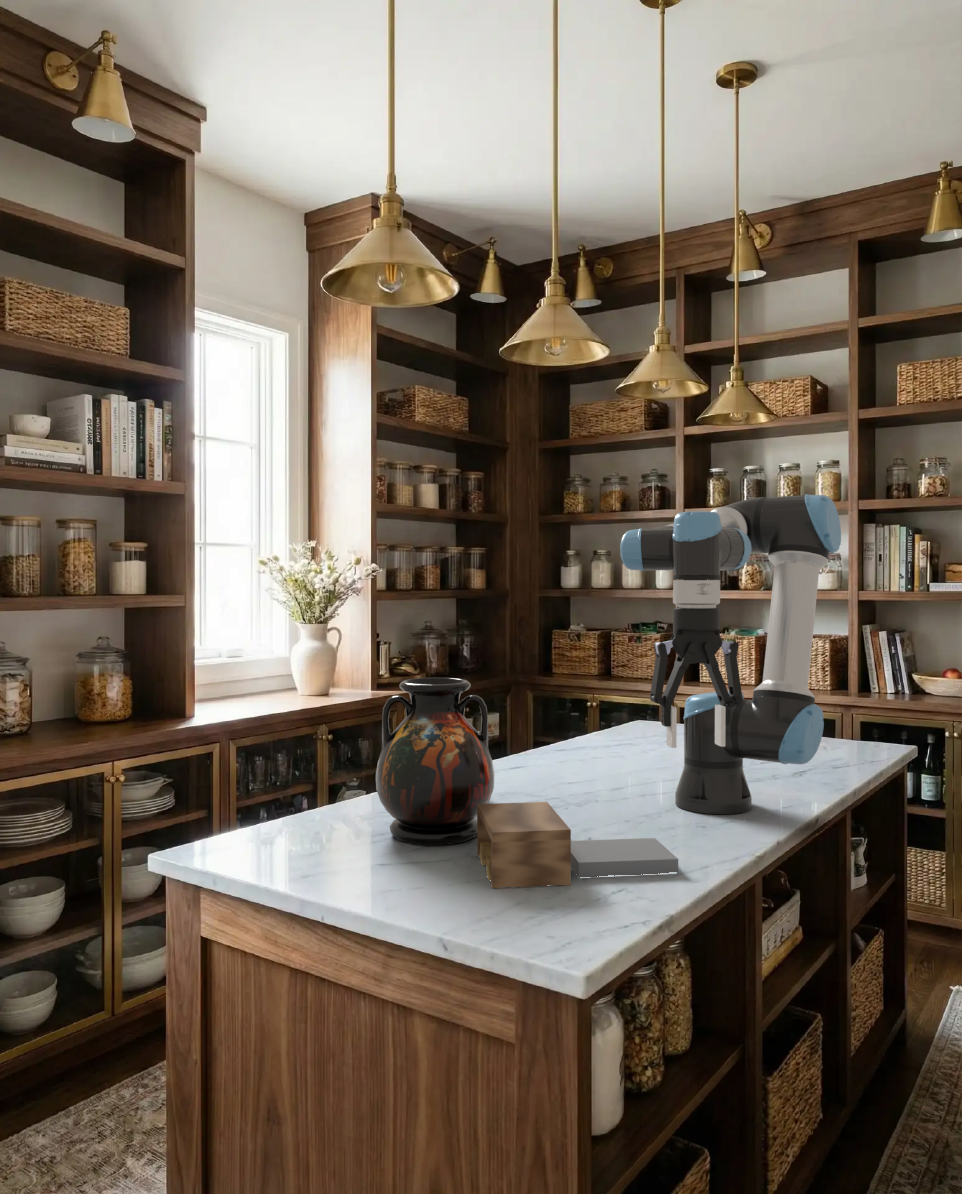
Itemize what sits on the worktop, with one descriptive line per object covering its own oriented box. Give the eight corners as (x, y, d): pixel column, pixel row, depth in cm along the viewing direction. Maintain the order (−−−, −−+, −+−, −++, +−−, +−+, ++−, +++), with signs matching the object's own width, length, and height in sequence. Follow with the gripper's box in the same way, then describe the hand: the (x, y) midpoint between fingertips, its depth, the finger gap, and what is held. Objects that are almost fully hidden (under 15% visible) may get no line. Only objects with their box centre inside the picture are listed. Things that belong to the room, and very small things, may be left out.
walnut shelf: (547, 851, 163) (547, 801, 163) (570, 885, 146) (570, 829, 145) (477, 854, 162) (477, 804, 162) (492, 888, 144) (492, 832, 144)
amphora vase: (372, 853, 163) (371, 688, 162) (379, 820, 184) (378, 675, 183) (498, 851, 164) (498, 687, 163) (490, 818, 185) (490, 674, 185)
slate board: (654, 855, 163) (654, 838, 163) (678, 877, 151) (678, 859, 151) (562, 858, 161) (562, 841, 161) (578, 881, 149) (578, 862, 149)
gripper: (642, 607, 151) (642, 751, 152) (765, 606, 154) (764, 748, 155) (629, 606, 159) (628, 743, 159) (746, 605, 162) (746, 740, 162)
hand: (695, 745), depth 157 cm, fingers open, 8 cm apart
